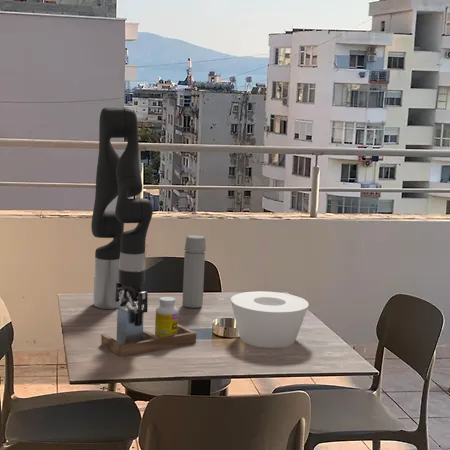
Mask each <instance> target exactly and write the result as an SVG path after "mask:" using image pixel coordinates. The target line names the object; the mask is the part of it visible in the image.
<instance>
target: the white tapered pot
mask: <svg viewBox="0 0 450 450" xmlns="http://www.w3.org/2000/svg"><path fill="white" fill-rule="evenodd" d="M230 302H231V307H232V311H233V315H234V320H235V322H236V323H235V324H236V328H237V331H238V336H239V339H240V340H241V341H242V342H244V343H245V344H247V345H250V346H254V347H258V348H265V349H266V348H269V349H272V348H273V349H275V348H277V349H278V348H286V347H290V346H292V345H294V344H295V342H296V340H297V337H298V335H299V332H300V329H301V327H302V324H303V321H304V318H305V316H306V313H307V310H308V309H309V308H308V307H309V304H310V303H309V302H308V300H307V299H305V298H303V297H300V296H296V295H294V294H290V293H289V294H288V293H283V292H275V291H244V292H240V293H237V294H234V295H232V296H231V297H230Z"/></svg>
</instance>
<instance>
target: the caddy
mask: <svg viewBox="0 0 450 450" xmlns="http://www.w3.org/2000/svg"><path fill="white" fill-rule="evenodd" d="M100 339H101V340H100V344H101V346H103V347H105V348H106V349H108V350H110V352H113V353H115V354H116V355H117V356H119V357H126V356H131V355H132V356H133V355H136V354H141V353H142V354H143V353H147V352H153V351H157V350H163V349H168V348H173V347H179V346H185V345H190V344H195V343H197V332H196V331H194V330H192V329H189V328H188V327H185V326H184V325H181V324H179V323H177V335H173V336H167V337H162V338H159V337H157V336H155V334H153V333H151V332H149V331H148V330H146V329H144V328H143V341H139V342H134V343H128V344H121V343H120V342H118V341H117V339H115V338H114V337H113V338H112V337H111V336H109V335H108V334H106V333H105V334H101V335H100Z"/></svg>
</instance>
